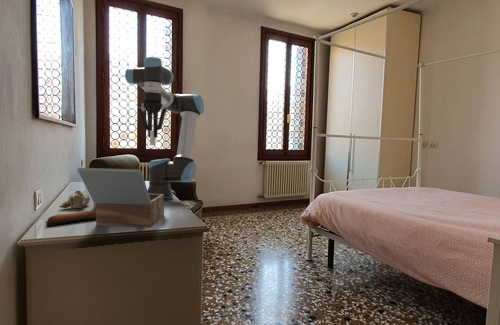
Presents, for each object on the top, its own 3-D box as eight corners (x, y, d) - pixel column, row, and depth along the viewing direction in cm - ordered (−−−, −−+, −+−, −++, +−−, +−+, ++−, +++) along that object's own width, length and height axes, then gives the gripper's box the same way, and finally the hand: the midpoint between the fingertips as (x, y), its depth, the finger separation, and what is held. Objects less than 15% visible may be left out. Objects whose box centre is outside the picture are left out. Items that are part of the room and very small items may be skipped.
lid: (78, 167, 108) (77, 170, 107) (141, 169, 108) (140, 171, 107) (95, 200, 120) (94, 203, 119) (151, 202, 120) (150, 204, 119)
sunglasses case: (91, 215, 135) (93, 204, 132) (95, 226, 131) (97, 215, 128) (43, 222, 123) (44, 209, 120) (46, 234, 119) (47, 222, 116)
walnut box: (116, 214, 139) (116, 192, 138) (164, 215, 139) (164, 194, 138) (96, 225, 121) (95, 200, 120) (150, 227, 121) (150, 202, 120)
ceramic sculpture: (95, 187, 156) (79, 194, 141) (96, 204, 157) (80, 212, 143) (74, 187, 156) (56, 194, 141) (75, 203, 157) (58, 212, 142)
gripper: (135, 91, 133) (135, 144, 134) (164, 91, 132) (164, 145, 134) (141, 93, 140) (141, 144, 142) (169, 94, 140) (169, 145, 142)
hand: (152, 144), depth 138 cm, fingers closed
